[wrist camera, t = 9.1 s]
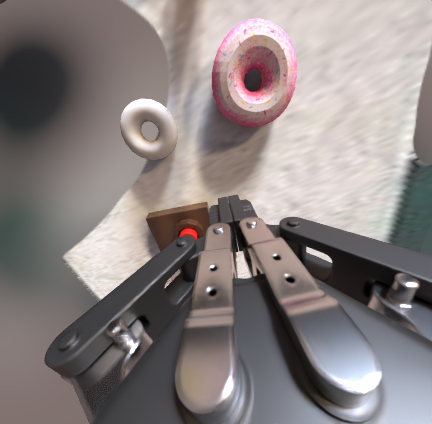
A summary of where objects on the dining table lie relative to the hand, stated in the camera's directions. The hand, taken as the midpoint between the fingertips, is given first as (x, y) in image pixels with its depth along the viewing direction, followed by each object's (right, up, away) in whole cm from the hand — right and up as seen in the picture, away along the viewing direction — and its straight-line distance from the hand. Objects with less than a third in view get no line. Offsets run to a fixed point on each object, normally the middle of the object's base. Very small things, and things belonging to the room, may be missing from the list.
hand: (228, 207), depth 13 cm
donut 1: (-13, +15, +20) cm, 28 cm away
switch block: (-9, -4, +30) cm, 32 cm away
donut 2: (+5, +22, +17) cm, 28 cm away
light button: (-7, -6, +26) cm, 28 cm away
